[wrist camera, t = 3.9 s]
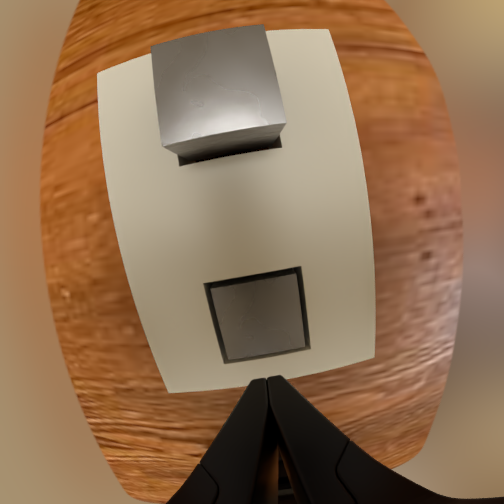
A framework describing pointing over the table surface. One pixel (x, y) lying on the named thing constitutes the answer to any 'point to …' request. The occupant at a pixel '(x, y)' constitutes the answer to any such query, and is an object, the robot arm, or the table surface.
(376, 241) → the table surface
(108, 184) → the bore block
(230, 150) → the peg
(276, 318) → the peg
